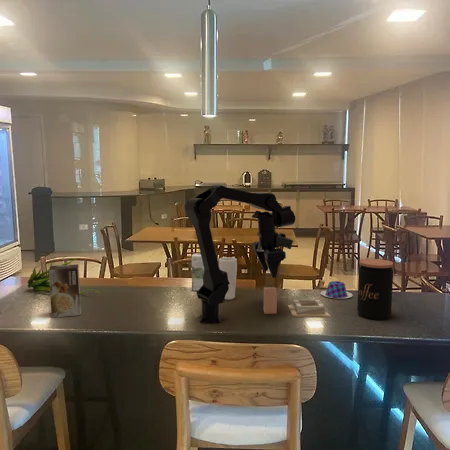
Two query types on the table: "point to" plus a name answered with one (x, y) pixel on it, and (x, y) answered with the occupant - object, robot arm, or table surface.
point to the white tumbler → (229, 274)
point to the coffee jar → (375, 289)
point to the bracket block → (270, 300)
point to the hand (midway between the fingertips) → (269, 274)
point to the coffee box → (64, 290)
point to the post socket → (308, 308)
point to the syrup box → (197, 271)
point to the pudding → (336, 290)
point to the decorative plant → (44, 279)
